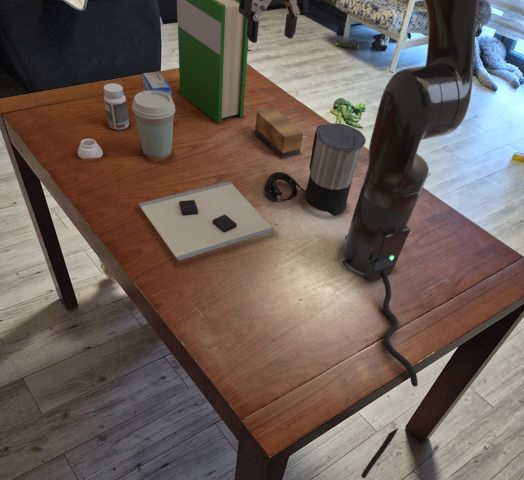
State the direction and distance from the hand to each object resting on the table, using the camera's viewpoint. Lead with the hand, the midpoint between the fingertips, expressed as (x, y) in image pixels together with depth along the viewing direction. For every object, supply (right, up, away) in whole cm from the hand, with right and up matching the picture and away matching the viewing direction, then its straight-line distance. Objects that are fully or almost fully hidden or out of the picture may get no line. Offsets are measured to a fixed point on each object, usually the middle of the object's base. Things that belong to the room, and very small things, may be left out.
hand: (270, 39), depth 93 cm
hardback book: (-15, 0, +26) cm, 30 cm away
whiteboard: (-13, -37, -3) cm, 39 cm away
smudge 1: (-16, -35, -3) cm, 38 cm away
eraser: (+2, -13, +18) cm, 22 cm away
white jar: (-38, -21, +7) cm, 44 cm away
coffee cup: (-25, -19, +9) cm, 33 cm away
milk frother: (+7, -31, +5) cm, 32 cm away
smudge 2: (-9, -38, -5) cm, 40 cm away
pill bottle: (-35, -10, +15) cm, 39 cm away
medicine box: (-27, -6, +19) cm, 33 cm away
